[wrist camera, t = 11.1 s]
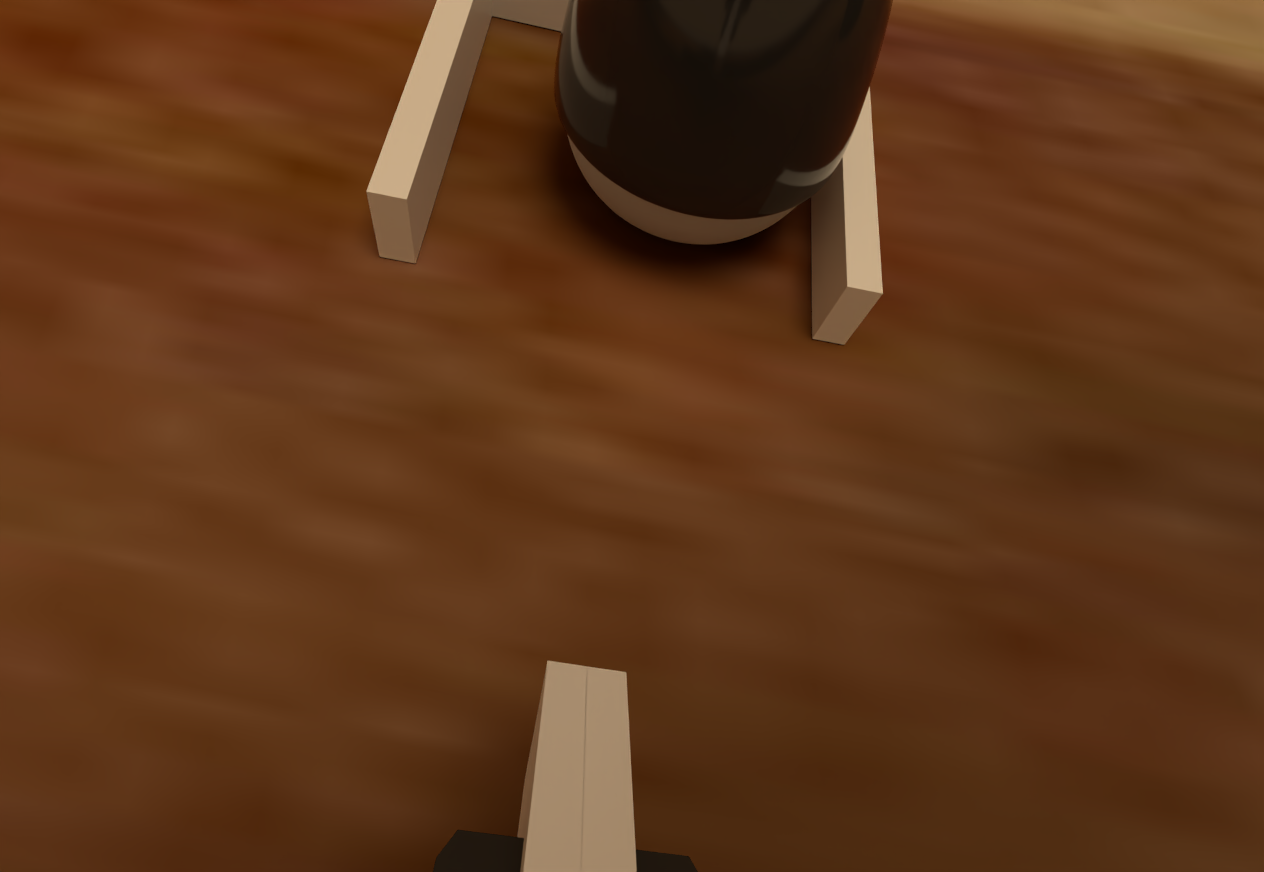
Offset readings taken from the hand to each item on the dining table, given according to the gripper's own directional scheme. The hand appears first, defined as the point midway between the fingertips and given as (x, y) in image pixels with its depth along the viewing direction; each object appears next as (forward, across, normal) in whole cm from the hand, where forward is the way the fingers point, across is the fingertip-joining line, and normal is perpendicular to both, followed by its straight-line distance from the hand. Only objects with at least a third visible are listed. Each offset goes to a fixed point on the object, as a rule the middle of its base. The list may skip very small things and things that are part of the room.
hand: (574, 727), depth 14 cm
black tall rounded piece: (+19, +2, +10) cm, 22 cm away
